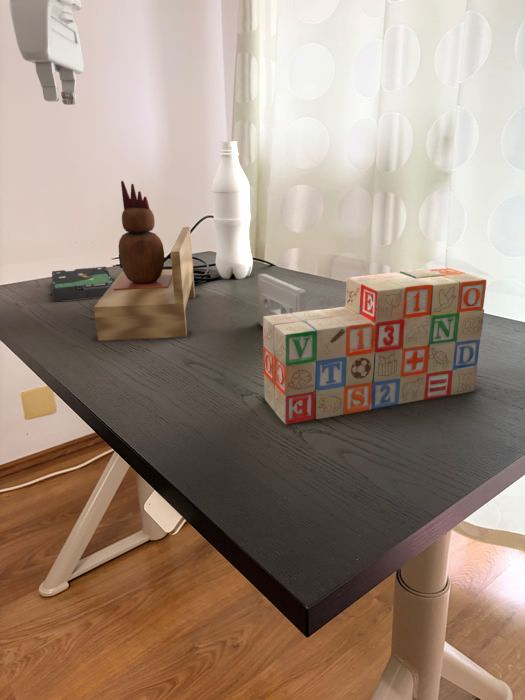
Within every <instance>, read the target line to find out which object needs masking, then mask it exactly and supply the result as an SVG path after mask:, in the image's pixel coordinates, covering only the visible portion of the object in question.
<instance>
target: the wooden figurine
mask: <svg viewBox="0 0 525 700" xmlns="http://www.w3.org/2000/svg"><path fill="white" fill-rule="evenodd" d="M120 186H121V187H120V188H121V196H122V203H123V205H122V206H123V211H122V212H121V213H122V214H121V224H122V228H123V229H124V231H125V233H123V234H122V235H121V237H120V238H119V241H118V257H119V263H120V266H121V269H122V271H124V273H125V275H126V277H127V278H128V279H129V280H130V281H132V282H135V283H151V282H154V281H156V280H158V279H159V278H160V276H161V273H162V270H164V265H165V249H164V243H163V242H162V240H161V238H160V237H159V236H158V235H157V234H156V233H154V232H153V230H154V228H155V221H156V220H155V215H154V213H153V211H152V210H151V209H150V204H149V201H148V197H147V196H142V192H141V191H138V192H136V188H135V185H134V183H131V184H130V195H129V192H128V189H127V187H126V184H125V182H124V180H121V181H120Z"/></svg>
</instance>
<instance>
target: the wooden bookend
mask: <svg viewBox="0 0 525 700" xmlns="http://www.w3.org/2000/svg"><path fill="white" fill-rule="evenodd" d="M191 233H192V232H191V227H190V226H183V227H182V228H181V231H180V233H179V234H178V237H177V238H176V240H175V242H174V245H173V246H172V248H171V250H170V262H171V269H163V270H162V273H161V276H160V278H159V279H158V280H156V281H154V282H151V283H135V282H132V281H130V280H129V279H128V278H127V277H126V275H125V273H124V271H123V270H122V271H121V272H120V273H119V275H118V276H117V277H116V278H115V279H114V281H112V282H113V283H112V285H111V286H110V287H109V289H108V290H107V291H106V292H105V294H104V295H103V296H102V297H100V299H99V300H98V301H97V302H96V303H95V305H94V306H93V312H94V319H95V327H96V334H97V341H98V342H100V341H101V342H103V341H121V340H123V341H125V340H142V339H143V340H145V339H146V340H147V339H148V340H149V339H167V338H168V339H169V338H186V337H187V335H188V328H187V317H186V315H187V314H186V309H187V304H188V301H189V299H195V298H196V292H195V291H196V290H195V279H194V277H195V276H194V262H193V249H192V247H193V246H192V235H191Z"/></svg>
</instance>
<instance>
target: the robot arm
mask: <svg viewBox="0 0 525 700" xmlns="http://www.w3.org/2000/svg"><path fill="white" fill-rule="evenodd" d="M9 9H10V11H9V12H10V15H11V21H12V26H13V29H14V35H15V39H16V44H17V47H18V50H19V52H20V54H21V57H22V59H23V60H24V61H26V62H29V63H32V64H34V65H35V71H36V75H37V77H38V80H39V83H40V86H41V89H42V96H43V99H44V101H46V102H59V101H60V98H61V101H62V103H63V104H64V105H66V106H75V105H76V104H77V97H76V88H77V75H82V74H83V73H84V69H85V68H84V67H85V65H84V63H85V62H84V58H83V51H82V44H81V37H80V33H79V28H78V24H77V22H76V20H75V18H74V13H75V12H78V11H80V10H81V9H82V1H81V0H9ZM55 73H59V80H60V82H61V91H60V89H59V87H58V86H57V81H56V75H55ZM60 95H61V97H60Z"/></svg>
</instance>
